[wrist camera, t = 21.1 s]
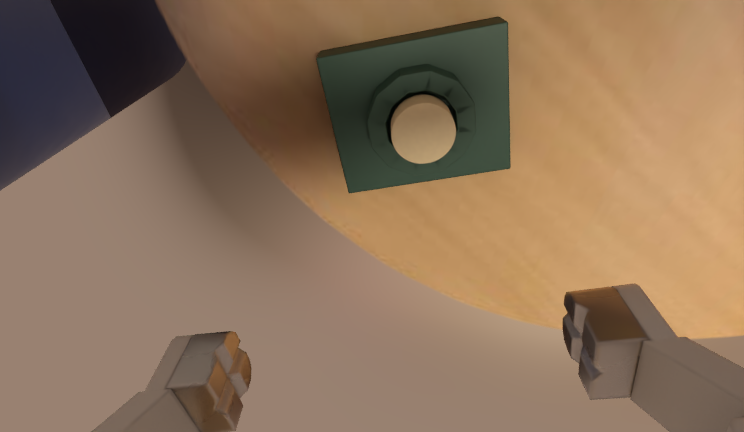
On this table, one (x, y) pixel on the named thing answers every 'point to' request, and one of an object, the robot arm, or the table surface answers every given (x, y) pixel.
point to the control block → (415, 77)
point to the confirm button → (422, 129)
